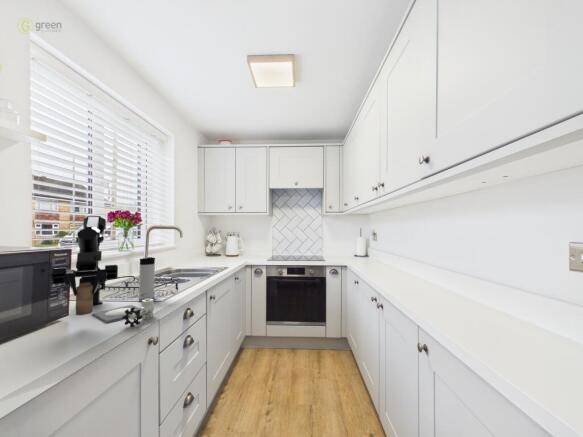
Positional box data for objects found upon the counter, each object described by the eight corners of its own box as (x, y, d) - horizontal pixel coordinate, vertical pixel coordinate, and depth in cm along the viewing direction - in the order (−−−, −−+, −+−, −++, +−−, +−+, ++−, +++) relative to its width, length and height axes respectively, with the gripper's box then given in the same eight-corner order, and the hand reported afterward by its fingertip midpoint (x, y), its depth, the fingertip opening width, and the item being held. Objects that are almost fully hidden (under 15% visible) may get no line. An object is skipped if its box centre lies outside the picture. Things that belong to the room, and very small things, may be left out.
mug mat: (92, 315, 103) (92, 312, 103) (131, 306, 115) (131, 304, 115) (106, 323, 95) (106, 320, 95) (147, 313, 106) (147, 310, 106)
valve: (141, 315, 104) (121, 327, 92) (142, 298, 104) (122, 307, 92) (158, 315, 104) (141, 327, 92) (159, 298, 104) (141, 307, 92)
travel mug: (142, 302, 121) (143, 258, 122) (136, 300, 125) (137, 256, 126) (156, 299, 126) (157, 256, 126) (150, 297, 130) (151, 255, 131)
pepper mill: (73, 313, 91) (74, 283, 91) (89, 310, 95) (90, 281, 95) (78, 316, 88) (78, 285, 89) (94, 312, 92) (95, 283, 92)
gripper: (52, 244, 90) (43, 283, 81) (118, 242, 101) (117, 277, 91) (56, 265, 97) (48, 303, 87) (117, 261, 107) (117, 295, 97)
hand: (84, 294), depth 91 cm, fingers closed on pepper mill, 5 cm apart
